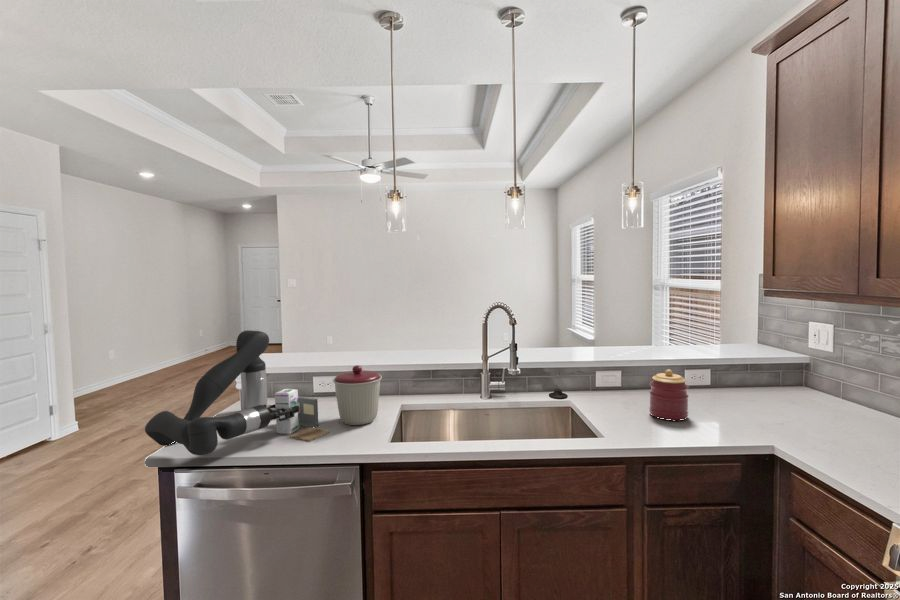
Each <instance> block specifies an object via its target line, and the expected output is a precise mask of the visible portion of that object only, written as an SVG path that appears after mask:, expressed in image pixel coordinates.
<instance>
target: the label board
mask: <svg viewBox="0 0 900 600" xmlns="http://www.w3.org/2000/svg"><path fill="white" fill-rule="evenodd" d="M298 404H299V421H300V426H301V427H300V428H305V427H307V428H308V427H311V428H313V427H315V428H317V427H319V407H318V406H319V405H318V404H319V403H318V398H313V397H306V396H300V395H298ZM316 426H317V427H316Z"/></svg>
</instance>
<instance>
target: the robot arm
mask: <svg viewBox="0 0 900 600" xmlns="http://www.w3.org/2000/svg"><path fill="white" fill-rule="evenodd" d="M269 344H270V338H269V336H268V334H267V333H266V332H264V331H260V330H249V329H247V330H243V331H241V332H240V333H239V334H238V336H237V337H236V346H235V347H236V352H234V354H232V355H231V356H229V357H228V358H225V359H224V360H222V361H220V362H218V363H217V364H215V365H214V366H212V367H211V368H210V369H208V370H207V372H206V373H204V374H203V376H201V377H200V379H199V380H198V381H197V382H196V385H195V387H194V391H193V395H192V399H191V403H190V407H189V409H188V410H187V413H186V414H185V416H184V417H183V418H182V417H178V416H177V415H175V414H174V413H173V412H171V411H169V410H164V411H163V410H162V411H160V412H158V413H156V414H155V415H154V416H152V417H151V418H150V419H149V421H148V422H147V423H146V425H145V427H144V432H145V433H146V435H147V436H148V437H149V438H151V439H152V440H153V441H155V442H156V443H157V444H158V445H160V446H164V447H165V446H166V447H167V446H173V445H172V444H174V445H176V444H179V445H183V446H184V448H185V449H186V450H187V451H188V452H189V453H190V454H192V455H194V456H206V455H209V454H211V453H213V452H214V451H215V450H216V449H217V446H218V436H219V437H220V438H221V439H222V440H225V441H226V440H231V439H234V438H237V437H239V436H243V435H247V434H250V433H253V432H257V431H259V430H261V429H264V428H266V427H268V426H269V425H270V423H271V422H272V421H276V419H279V421H283V420H286V419H289V418H292V417H294V413H297V412H299V406H294V407H291V408H286V409H284V408H275V403H274V404H268V392H267V391H268V390H267V389H268V388H267V386H268V385H267V370H266V369H267V368H266V361H264V360H263V359H262V358H261V357H260V356H261V355H262V354H263V353H264V352H265V351H266V350H267V349H268V347H269ZM239 376H240V384H241V386H240V387H241V389H240V390H239V395H240V397H239V398H240V411H239V410H238V411H237V412H235V413H230V414H227V415H225V416H224V415H223V416H216V417H215V416H203V417H202V415H203V414H204V413H205V412H206V411H207V410H208V409H209V408H210V406H211V405H212V404H213V403H215V402H216V401H217V400H218V398H220V397H221V396H222V394H223V393H224V392H225V391H226V390H227V389H228V388H229V387H230V386H231V384H232V383H233V382H234V381H236V379H237V378H238V377H239ZM280 410H282V412H281V413H280ZM174 441H175V442H174ZM172 442H174V443H172ZM176 442H177V443H176ZM171 443H172V444H171ZM175 443H176V444H175ZM169 444H171V445H169Z"/></svg>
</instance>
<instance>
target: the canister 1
mask: <svg viewBox="0 0 900 600" xmlns="http://www.w3.org/2000/svg"><path fill="white" fill-rule="evenodd" d="M382 378H383V376H382V375H381V374H379V373H378V372H376V371H372V370H363V367H362V366H361V365H354V366H353V367H352V371H351V370H350V371H345V372H342V373H340V374H337V375H336V376H335V377H333V378H332V382H333V384H334V389H335V396H336V403H337V404H336V405H337V409H338V415H339V418H340V421H341V422H342V423H343V424H345V425H348V426H362V425H367V424H370V423H372V422H373V421H374V420H376V418H377V416H378V411H379V409H378V408H379V398H380V389H381V388H380V387H381V380H382Z"/></svg>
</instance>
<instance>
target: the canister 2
mask: <svg viewBox="0 0 900 600" xmlns="http://www.w3.org/2000/svg"><path fill="white" fill-rule="evenodd" d="M651 378H652V381H650V382H649V386H650V390H649V407H648V408H649V414H652V415H653V416H655V417H659V418H664V419H671V420H680V419H685V418H687V419H688V417H689V407H688V406H689V394H688V389H689V388H690V386H689V384H687V383H686V382H687V379H685V378H684V377H683V376H682V375H679V374H676V373H673V370H671V369H670V368H669V369H665V370H664V372H659V373H656V374H655V375H653V376H652V377H651ZM653 416H652V417H653ZM655 417H654V418H655Z"/></svg>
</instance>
